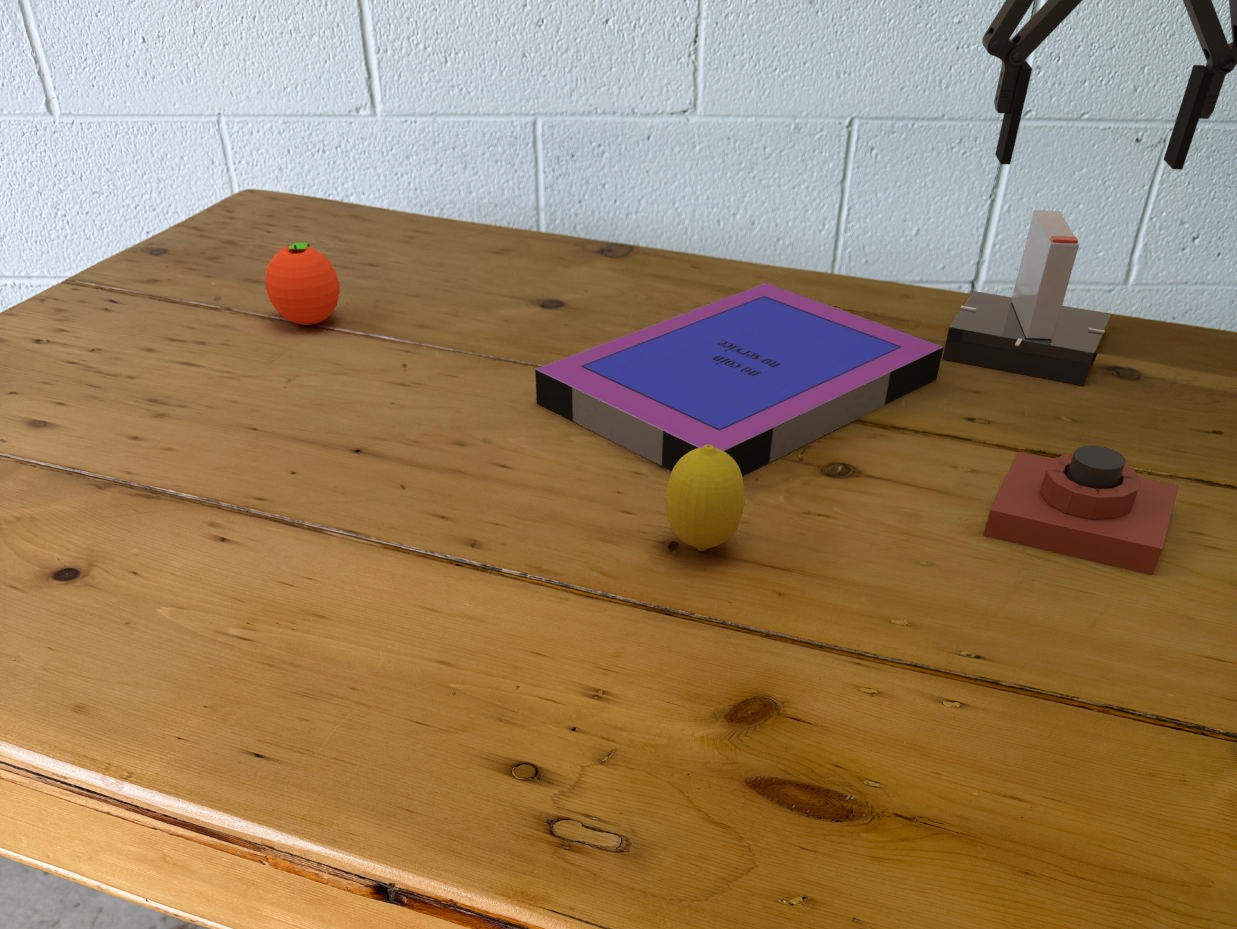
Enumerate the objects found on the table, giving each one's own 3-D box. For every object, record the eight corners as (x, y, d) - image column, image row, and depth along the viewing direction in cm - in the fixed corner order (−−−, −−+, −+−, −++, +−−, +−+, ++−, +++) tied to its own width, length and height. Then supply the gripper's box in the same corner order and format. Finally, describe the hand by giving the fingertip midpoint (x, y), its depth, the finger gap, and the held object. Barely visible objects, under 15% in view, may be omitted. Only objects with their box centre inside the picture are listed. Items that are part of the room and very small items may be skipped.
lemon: (746, 536, 82) (756, 433, 76) (731, 576, 78) (740, 470, 72) (673, 525, 83) (678, 422, 77) (655, 564, 79) (658, 459, 73)
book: (943, 346, 99) (714, 455, 84) (936, 379, 101) (711, 491, 86) (766, 282, 110) (535, 369, 95) (763, 314, 112) (536, 403, 97)
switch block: (1168, 511, 85) (1187, 462, 82) (1152, 575, 78) (1172, 525, 76) (1010, 477, 88) (1024, 429, 86) (982, 536, 82) (996, 486, 79)
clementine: (286, 304, 112) (271, 228, 107) (354, 305, 112) (342, 229, 107) (265, 335, 107) (248, 257, 102) (336, 337, 107) (323, 258, 102)
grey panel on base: (1010, 300, 107) (1034, 206, 101) (1036, 302, 106) (1061, 207, 101) (1025, 338, 100) (1051, 240, 94) (1052, 339, 100) (1080, 241, 94)
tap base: (1104, 340, 108) (1115, 306, 105) (1082, 393, 99) (1093, 357, 97) (969, 316, 112) (976, 283, 109) (936, 365, 103) (944, 331, 101)
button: (1121, 474, 81) (1129, 451, 80) (1113, 496, 79) (1122, 473, 78) (1071, 463, 83) (1078, 441, 81) (1062, 485, 80) (1069, 462, 79)
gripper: (1007, -192, 73) (938, 171, 88) (1398, -186, 72) (1260, 180, 87) (988, -199, 78) (926, 144, 93) (1352, -194, 77) (1229, 153, 92)
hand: (1087, 162), depth 90 cm, fingers open, 13 cm apart
